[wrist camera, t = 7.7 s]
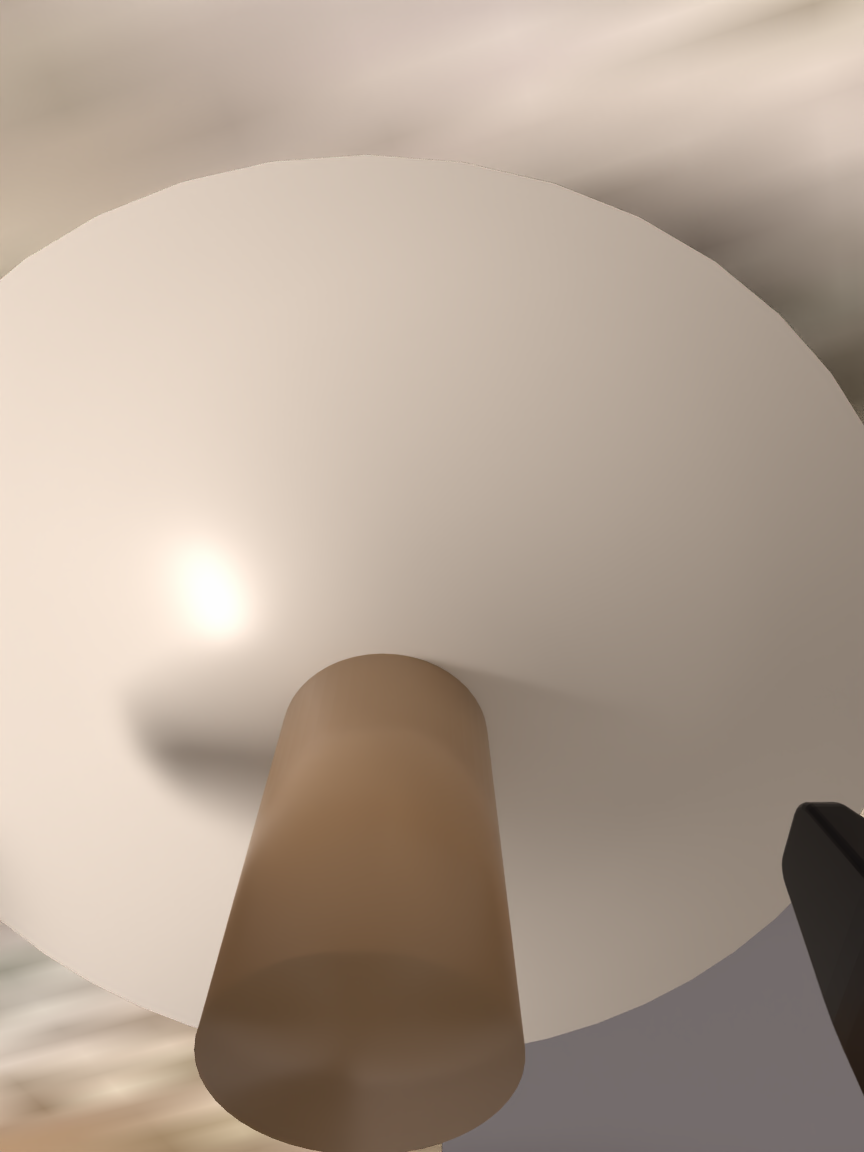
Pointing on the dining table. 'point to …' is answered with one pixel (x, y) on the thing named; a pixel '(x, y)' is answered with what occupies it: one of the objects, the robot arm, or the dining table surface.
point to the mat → (694, 1069)
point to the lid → (409, 625)
